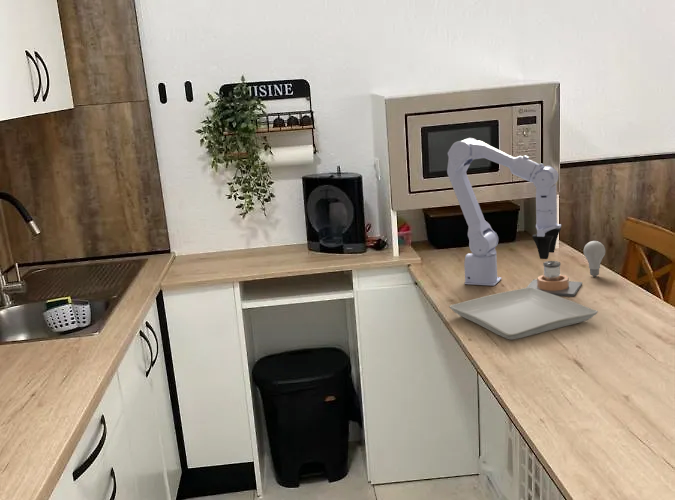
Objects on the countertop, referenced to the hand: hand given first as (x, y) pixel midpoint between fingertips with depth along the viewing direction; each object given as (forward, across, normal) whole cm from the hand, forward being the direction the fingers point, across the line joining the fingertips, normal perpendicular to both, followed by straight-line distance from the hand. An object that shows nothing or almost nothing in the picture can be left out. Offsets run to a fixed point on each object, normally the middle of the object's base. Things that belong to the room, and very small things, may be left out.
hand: (547, 255), depth 210 cm
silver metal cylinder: (+8, -2, -2) cm, 9 cm away
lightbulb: (+10, +13, -11) cm, 19 cm away
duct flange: (+9, -2, -2) cm, 10 cm away
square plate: (+10, -30, 0) cm, 32 cm away
